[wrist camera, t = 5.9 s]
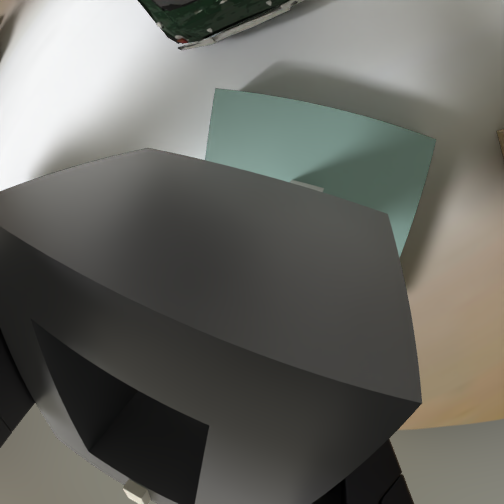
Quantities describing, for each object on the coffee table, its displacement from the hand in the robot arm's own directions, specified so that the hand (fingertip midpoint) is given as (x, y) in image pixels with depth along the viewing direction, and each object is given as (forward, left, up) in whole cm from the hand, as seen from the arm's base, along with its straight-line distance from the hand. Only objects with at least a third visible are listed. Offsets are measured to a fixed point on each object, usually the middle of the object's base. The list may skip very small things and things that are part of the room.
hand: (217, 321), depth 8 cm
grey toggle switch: (0, 0, -1) cm, 1 cm away
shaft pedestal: (0, 0, -12) cm, 12 cm away
